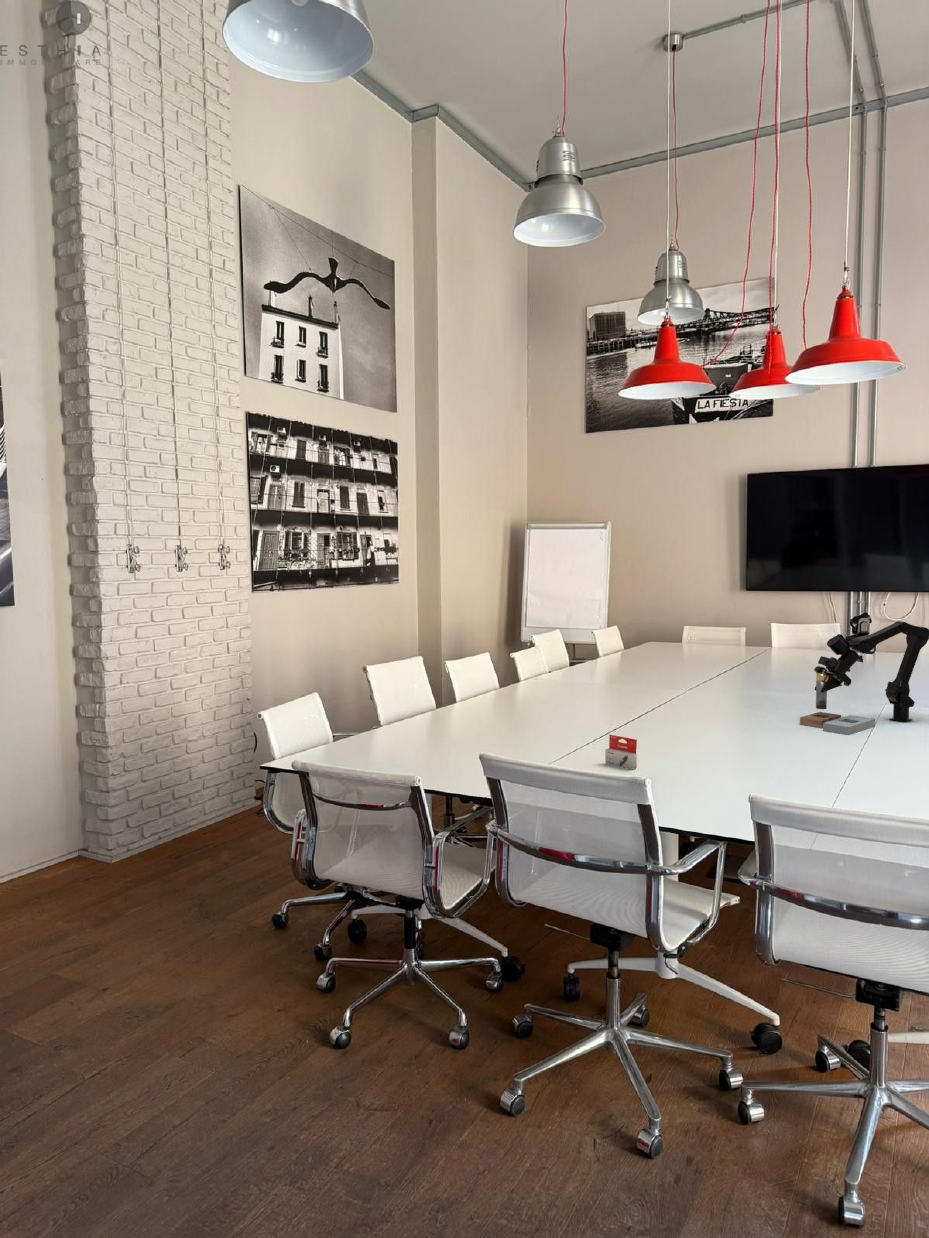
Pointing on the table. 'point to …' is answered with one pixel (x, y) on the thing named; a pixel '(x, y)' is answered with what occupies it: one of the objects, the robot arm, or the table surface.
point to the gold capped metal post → (820, 697)
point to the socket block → (818, 719)
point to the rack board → (848, 724)
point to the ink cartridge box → (621, 752)
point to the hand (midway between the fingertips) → (818, 691)
